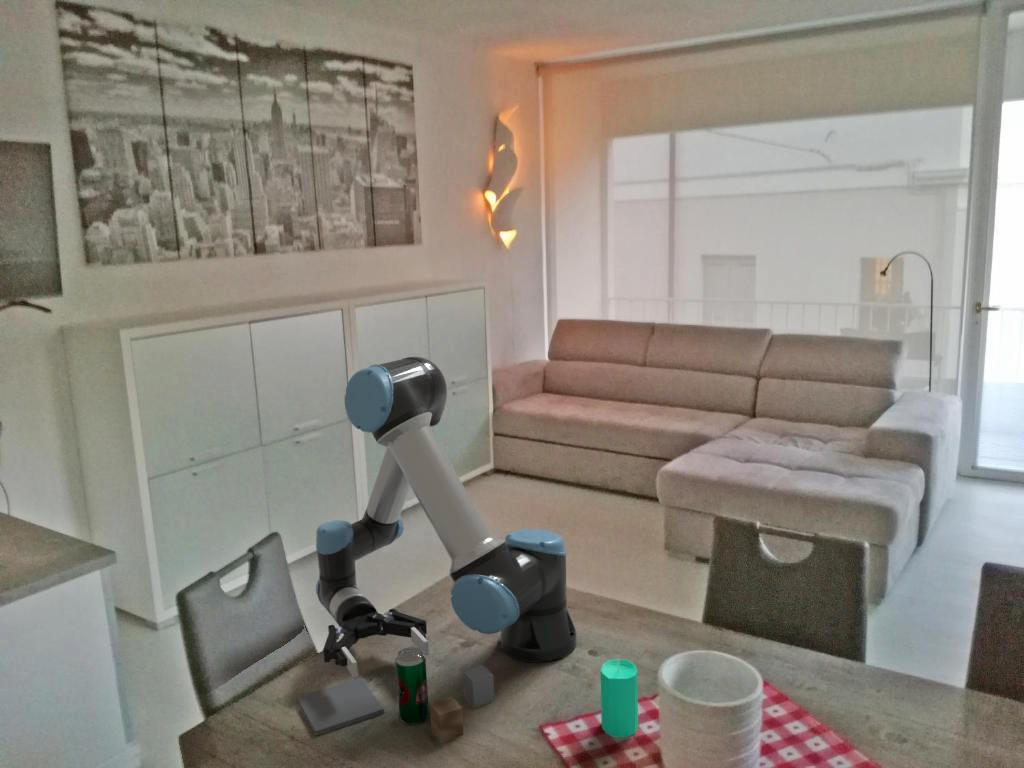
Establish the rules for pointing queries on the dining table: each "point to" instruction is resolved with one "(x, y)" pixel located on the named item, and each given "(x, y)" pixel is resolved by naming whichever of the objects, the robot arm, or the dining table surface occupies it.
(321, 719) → the grey square plate
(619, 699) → the candle
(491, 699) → the slate grey block
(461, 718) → the walnut block
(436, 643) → the dining table surface
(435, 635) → the dining table surface
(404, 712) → the soda can
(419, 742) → the dining table surface
